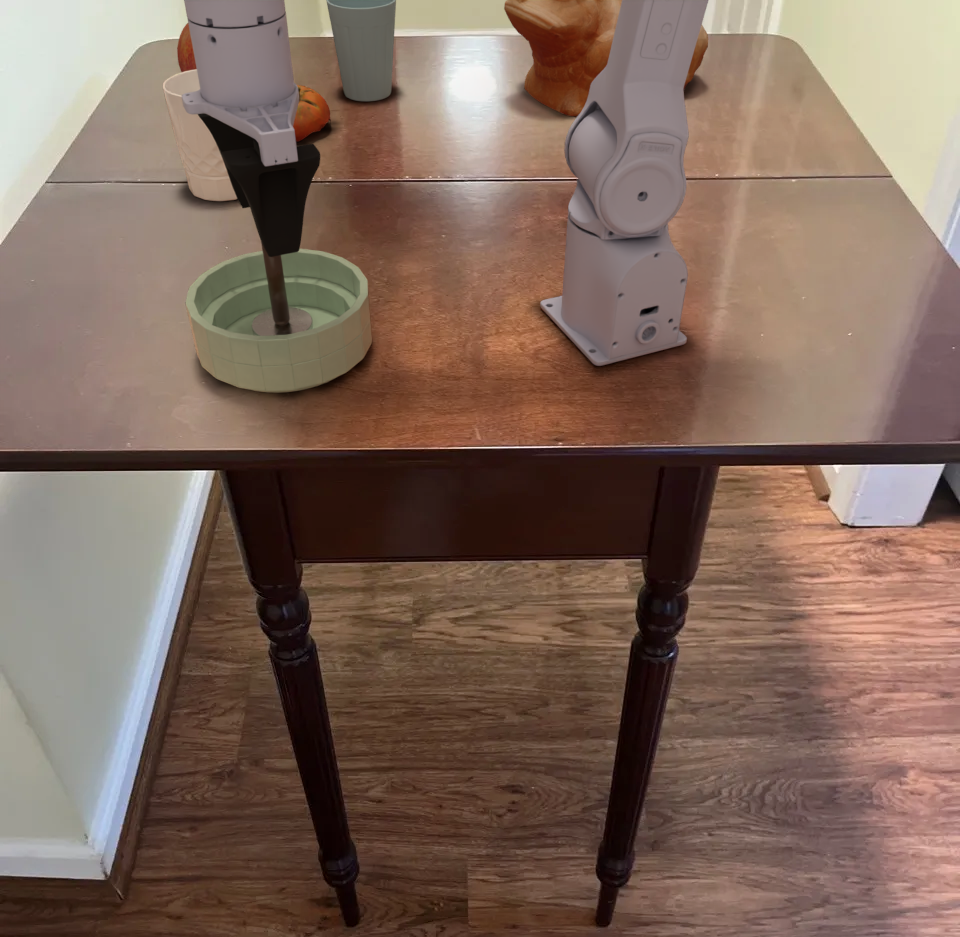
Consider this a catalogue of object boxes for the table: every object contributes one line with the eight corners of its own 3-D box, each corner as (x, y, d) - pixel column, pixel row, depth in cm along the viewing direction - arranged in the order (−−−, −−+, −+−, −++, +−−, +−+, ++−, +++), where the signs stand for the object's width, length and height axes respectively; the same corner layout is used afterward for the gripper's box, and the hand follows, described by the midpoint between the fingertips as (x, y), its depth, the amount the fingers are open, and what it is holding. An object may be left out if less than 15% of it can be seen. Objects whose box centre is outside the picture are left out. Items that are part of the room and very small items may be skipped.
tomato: (249, 134, 99) (255, 65, 99) (254, 157, 106) (260, 92, 106) (327, 145, 100) (333, 76, 100) (327, 167, 107) (333, 102, 107)
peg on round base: (324, 331, 72) (311, 218, 66) (297, 362, 69) (280, 246, 63) (273, 320, 73) (255, 208, 67) (243, 350, 70) (222, 235, 64)
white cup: (185, 209, 89) (163, 100, 83) (182, 174, 95) (161, 71, 89) (270, 199, 91) (255, 93, 85) (262, 166, 97) (247, 64, 90)
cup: (413, 96, 112) (408, 0, 105) (355, 110, 109) (347, 12, 102) (380, 78, 117) (374, -15, 110) (324, 90, 114) (314, -5, 107)
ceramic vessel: (478, 89, 114) (478, -51, 104) (659, 58, 123) (675, -74, 113) (536, 129, 105) (542, -20, 95) (727, 92, 114) (751, -48, 104)
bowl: (396, 375, 69) (393, 315, 66) (219, 418, 65) (206, 357, 62) (342, 292, 78) (337, 235, 75) (184, 325, 74) (171, 267, 71)
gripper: (148, -10, 60) (189, 194, 69) (191, 60, 50) (233, 288, 59) (259, -21, 62) (285, 178, 71) (321, 44, 52) (343, 266, 61)
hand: (268, 227), depth 65 cm, fingers open, 7 cm apart
